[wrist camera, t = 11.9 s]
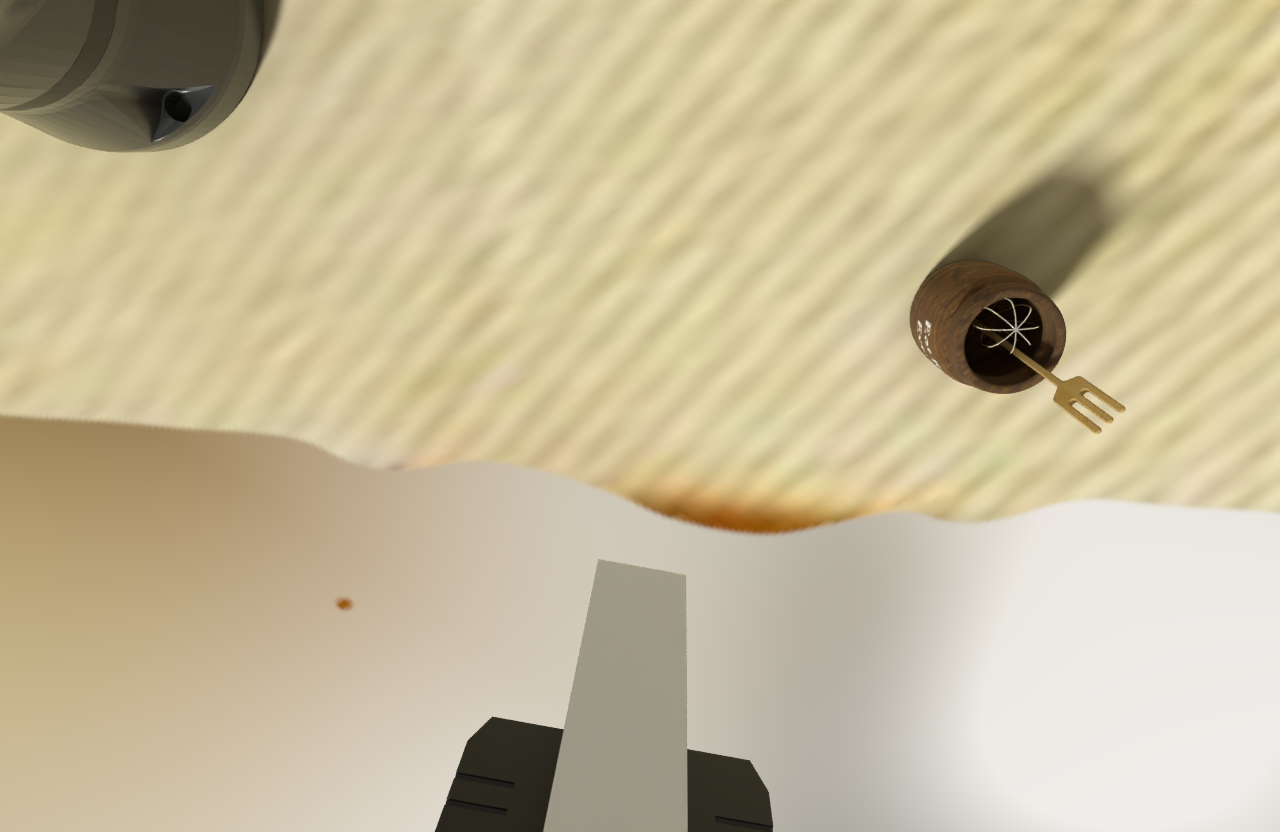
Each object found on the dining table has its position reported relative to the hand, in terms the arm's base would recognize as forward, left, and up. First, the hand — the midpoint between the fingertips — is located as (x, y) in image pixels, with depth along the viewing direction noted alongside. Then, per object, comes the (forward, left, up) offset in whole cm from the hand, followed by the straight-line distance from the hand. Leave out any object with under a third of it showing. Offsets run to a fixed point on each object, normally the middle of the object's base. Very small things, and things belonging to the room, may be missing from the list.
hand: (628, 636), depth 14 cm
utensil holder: (+16, +2, -33) cm, 36 cm away
